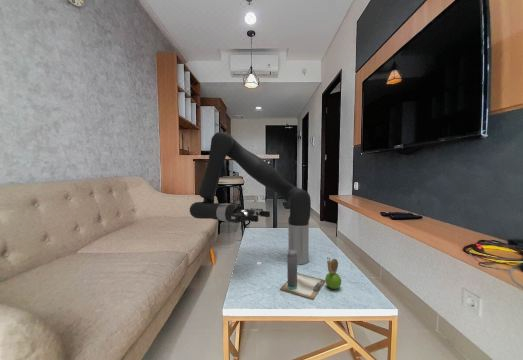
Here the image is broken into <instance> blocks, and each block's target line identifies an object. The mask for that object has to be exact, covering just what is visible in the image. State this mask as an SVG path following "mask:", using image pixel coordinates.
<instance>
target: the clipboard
mask: <svg viewBox="0 0 523 360" xmlns="http://www.w3.org/2000/svg"><path fill="white" fill-rule="evenodd" d="M324 284H326V281H325V279H322V278H319V277H315V276H310V275H306V274H302V273H299V272H297V289H295V290H291V289H289V288H288V280H287V281H286V282H285V283H284V284H283V285H282V286H281V287H280V288H279V290H280V291H282V292H284V293H289V294H293V295H295V296H298V297H301V298H304V299H308V300H311V301H314V300H315V298H316V296H317V295H318V294H319V292H320V290H321V289H322V288H323V285H324Z"/></svg>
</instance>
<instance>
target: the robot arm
mask: <svg viewBox="0 0 523 360" xmlns="http://www.w3.org/2000/svg"><path fill="white" fill-rule="evenodd" d="M226 157H228V158H230V159H231V160H232V161H234V162H235V163H236V164H238V165H239V167H240V168H241V169H242V170H244V172H245V173H246V174H247V175H248V176H250V177H251V178H253V180H255V181H256V182H258V183H259V184H261V185H262V186H264V187H265V188H268V189H270V190H271V191H273V192H275V193H276V194H277V195H279V196H280V197H281V198H282V199H283V200H284V201H286V203H287V204H288V205H289V206H290V208H289V216H288V220H287V222H288V223H287V224H288V228H287V229H288V230H287V231H288V232H287V234H288V239H287V240H288V246H287V247H288V250H291V249H293V250H296V251H297V265H304V264H307V263H309V261H310V260H309V258H310V255H309V254H310V252H309V250H310V249H309V247H310V246H309V244H310V241H309V240H310V239H309V238H310V237H309V234H310V230H309V229H310V227H309V226H310V224H309V223H310V218H311V205H312V203H311V196H310V194H309V192H308V191H306V190H305V189H302V188H299V187H298V186H295V185H294V184H292V183H290V182H289V181H288V180H286V179H285V178H284V177H283V176H282V175H281V174H280V172H278V171H277V169H275V168H274V167H273V166H272V165H270V164H269V163H268V162H267V161H265V160H264V159H262V158H261V157H259V156H257V154H255V153H252V151H249V150H247V149H246V148H245V147H243V146H242V144H240V143H239V142H238V141H237V140H236V139H234V138H233V136H232V135H231V134H230V133H228V132H225V131H218V132H216V133H214V134H213V136H212V137H211V140H210V148H209V155H208V160H207V165H206V167H205V171H204V174H203V177H202V181H201V184H200V186H199V190H198V195H199V196H200V197H201V198H202V199H203V200H202V201H195V202H194V203H192V204H191V205H190V207H189V214H190V215H191V216H192V217H193V218H195V219H200V220H201V219H205V220H206V219H208V220H209V219H211V220H216V221H222V222H225V223H233V224H239V223H245V222H247V223H248V222H255V223H257V222H259V217H262V218H270V217H271V212H270V211H268V210H264V209H263V208H253V207H252V208H244V206H243V205H241V204H239V203H237V204H236V203H226V202H225V203H219V202H218V203H217V202H215V195H216V192H217V189H218V185H219V182H220V178H221V172H222V168H223V164H224V162H225V159H226ZM288 250H287V251H288Z"/></svg>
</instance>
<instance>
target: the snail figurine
mask: <svg viewBox="0 0 523 360" xmlns="http://www.w3.org/2000/svg"><path fill="white" fill-rule="evenodd" d="M326 259H327V261H326V262H327V270H328V273H327V274H326V276H325V279H324V280H325V284H326V286H327V287H328V288H330V289H331V290H336V289H339V288H340V287H341V285H342V278H341V276H340V275H339V274H338V273H337V272H338V267H339V262H338V260H337V259H336V258H332V259H331V258H330V257H329V256H328V257H326Z"/></svg>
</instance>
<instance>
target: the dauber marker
mask: <svg viewBox="0 0 523 360" xmlns="http://www.w3.org/2000/svg"><path fill="white" fill-rule="evenodd" d="M286 257H287V259H286V260H287V272H286V273H287V276H286V277H287V281H288V288H289V289H291V290H295V289H297V273H298V264H297V251H296V250H293V249H291V250H287V255H286Z"/></svg>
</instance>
